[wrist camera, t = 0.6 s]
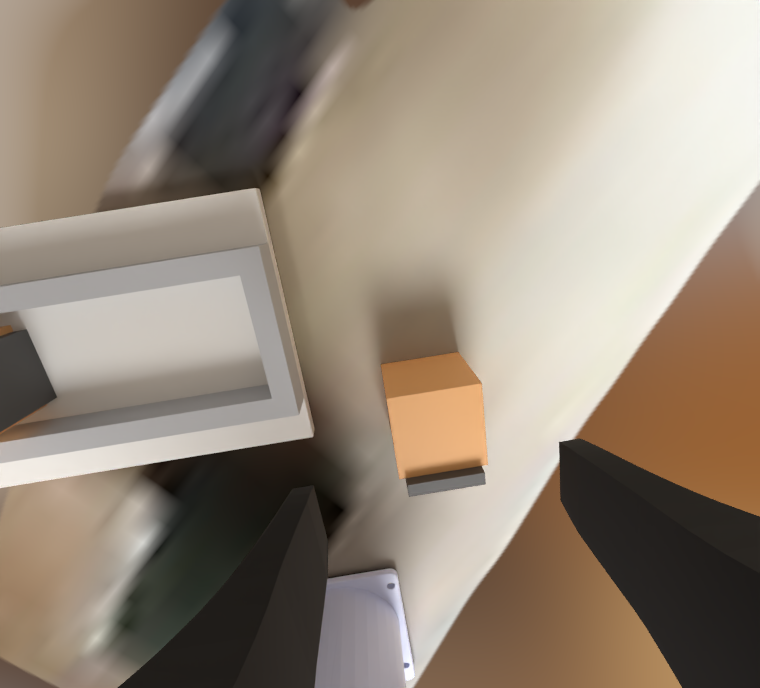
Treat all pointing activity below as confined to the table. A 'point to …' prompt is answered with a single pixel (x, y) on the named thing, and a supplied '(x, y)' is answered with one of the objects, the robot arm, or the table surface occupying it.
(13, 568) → the table surface
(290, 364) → the grey frame base
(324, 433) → the table surface
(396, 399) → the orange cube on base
